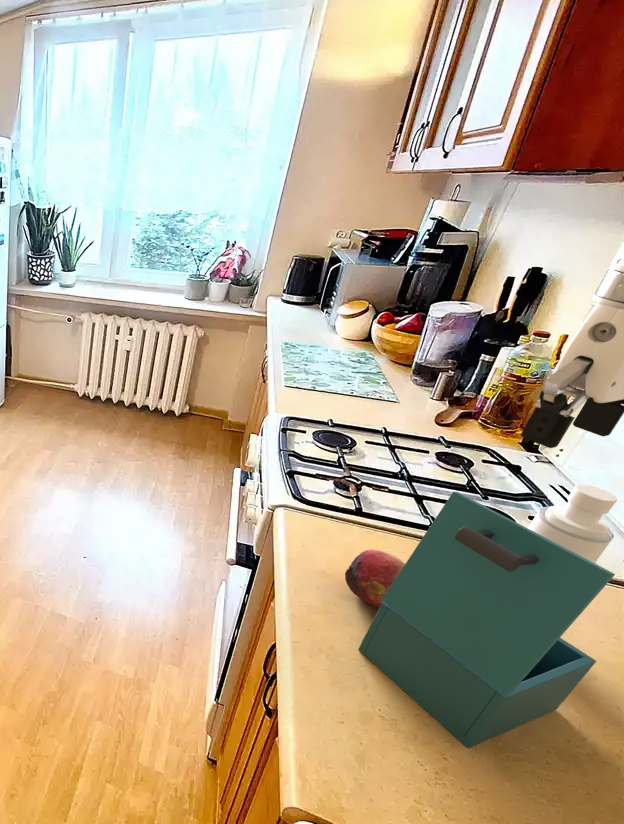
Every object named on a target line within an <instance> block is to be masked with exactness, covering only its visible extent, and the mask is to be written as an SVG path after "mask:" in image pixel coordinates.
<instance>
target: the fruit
mask: <svg viewBox="0 0 624 824" xmlns="http://www.w3.org/2000/svg"><path fill="white" fill-rule="evenodd" d="M405 564H406V562H404V561H403V560H402V559H400V558H399V557H396V556H395V555H393V554H390V553H389V552H385V550H384V551H383V550H380V549H367V550H365V551H361V552H360V553H359V554H358V555H356V556H355V558H354V559H353V560H352V561H351V563H350V565H349V566H348V568H347V569H346V570H345V573H344V579H345V583H346V585H347V586H348V588H349V590H350V591H351V592H352V593H353V594H354V595H355V596H357V598H359V599H360V600H362V601H364V602H365V603H367V604H370V605H371V606H375V607H378V608H380V606H381V604H382V602H383V601H382V598H383V597H384V595H385V594H386V592H387V591H388V589H389V588H390V586H391V585H392V583H393V582H394V580H395V579H396V577H397V576H398V574H399V573H400V571H401V570H402V568H403V567H404V565H405Z"/></svg>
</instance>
